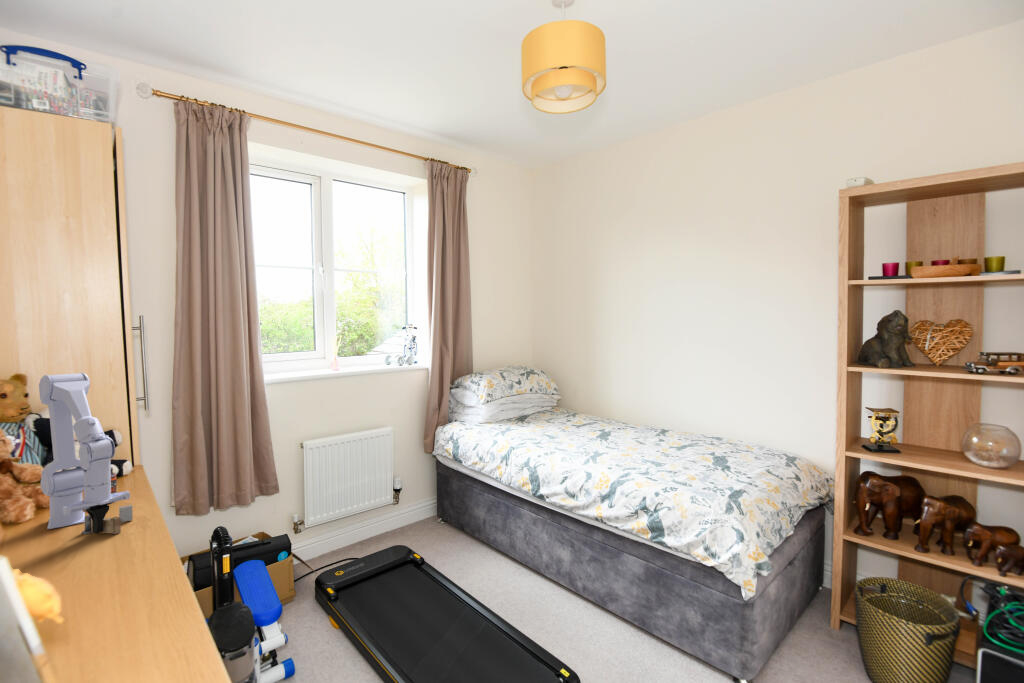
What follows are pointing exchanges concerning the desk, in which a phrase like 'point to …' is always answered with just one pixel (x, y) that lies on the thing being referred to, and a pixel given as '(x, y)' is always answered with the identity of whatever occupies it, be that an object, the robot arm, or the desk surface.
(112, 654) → the desk surface
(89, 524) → the pivot post
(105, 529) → the light wooden bar
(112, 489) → the supplement bottle
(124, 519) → the white-faced wooden block
